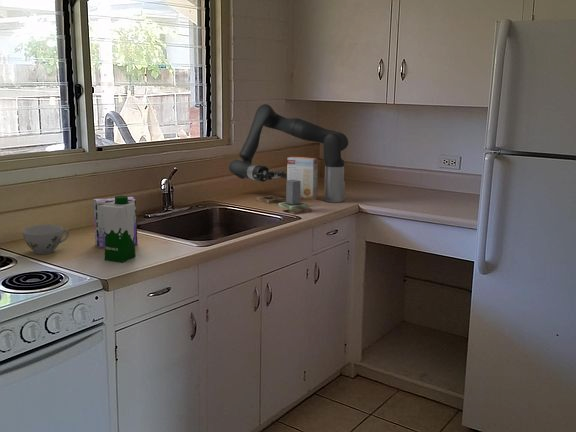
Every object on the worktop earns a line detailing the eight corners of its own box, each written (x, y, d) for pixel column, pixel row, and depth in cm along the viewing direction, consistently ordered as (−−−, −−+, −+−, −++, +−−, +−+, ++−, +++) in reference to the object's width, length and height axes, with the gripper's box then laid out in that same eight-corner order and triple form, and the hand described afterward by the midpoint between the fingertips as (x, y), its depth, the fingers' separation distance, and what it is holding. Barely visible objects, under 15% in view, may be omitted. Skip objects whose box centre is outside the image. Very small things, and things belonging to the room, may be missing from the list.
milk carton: (139, 256, 201) (137, 196, 197) (122, 264, 193) (120, 201, 188) (117, 253, 204) (114, 194, 200) (99, 260, 196) (96, 199, 192)
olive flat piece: (271, 200, 297) (271, 194, 297) (311, 211, 274) (311, 205, 274) (254, 203, 291) (254, 196, 291) (294, 214, 268) (294, 207, 268)
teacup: (32, 259, 196) (30, 235, 194) (18, 251, 205) (16, 228, 203) (77, 251, 206) (76, 228, 204) (62, 243, 215) (60, 221, 213)
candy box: (97, 248, 210) (94, 201, 206) (95, 244, 215) (92, 198, 211) (138, 245, 215) (136, 199, 212) (135, 241, 220) (133, 196, 217)
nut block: (293, 205, 279) (294, 179, 277) (300, 207, 276) (300, 181, 273) (286, 206, 277) (286, 180, 274) (292, 208, 273) (292, 181, 271)
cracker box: (317, 200, 301) (318, 157, 297) (312, 202, 296) (313, 159, 291) (291, 197, 307) (292, 155, 302) (286, 199, 301) (287, 157, 297)
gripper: (245, 166, 290) (266, 169, 277) (269, 164, 298) (290, 167, 286) (246, 182, 291) (266, 186, 279) (270, 179, 300) (290, 183, 287)
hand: (278, 176), depth 282 cm, fingers open, 8 cm apart
